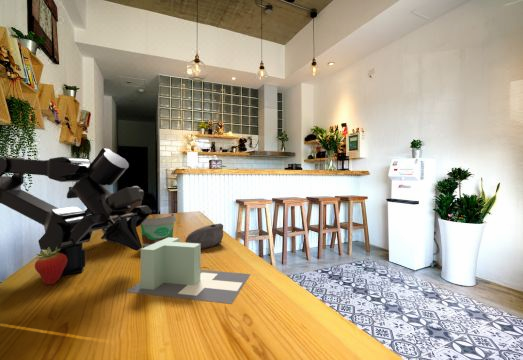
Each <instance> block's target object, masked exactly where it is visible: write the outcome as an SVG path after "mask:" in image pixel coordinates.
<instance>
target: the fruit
mask: <svg viewBox="0 0 523 360" xmlns="http://www.w3.org/2000/svg"><path fill="white" fill-rule="evenodd" d="M56 247H57V246H56ZM60 249H61V248H60ZM60 249H57V248H56V250H55V251H54V252H52V253H51V249H50V248H49V247H48V248H47V250H46V252H45V251H44V250H42V249H40V251H39V254H38V253H36V255H37V256H39V257H36V259H37V260H36V261H35V263H34V269H35V271H36V272H37V274H39V275H40V278H41V279H42V281H43V283H44V284H46V285H53V284H56V283H57V282H58V281H59V279H60V278H61V276H62V275H61V274H62V272H63V270H64V268H65V266H66V264H67V257H66V255H64V254H62V253H56V252H58V251H59V250H60Z"/></svg>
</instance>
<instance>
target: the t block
mask: <svg viewBox="0 0 523 360" xmlns="http://www.w3.org/2000/svg"><path fill="white" fill-rule="evenodd" d="M201 268H202V267H201V244H198V243H186V242H181V239H180V238H179V237H173V238H170V237H168V238H166V239H163V240H161V241H159V242H156V243H154V244H151V245H149V246H147V247H144V248H143V247H142V248H141V249H140V282H141V288H142V289H152V290H154V289H156V288H157V287H158V286H160V285H161V284H163V283H174V284H184V285H195V284H196V283H198V282H199V281H200V272H201V270H202V269H201Z"/></svg>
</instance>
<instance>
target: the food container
mask: <svg viewBox="0 0 523 360" xmlns="http://www.w3.org/2000/svg"><path fill="white" fill-rule="evenodd" d="M176 221H177V218H176V216H175V213H171V215H168V216H154V217H147V218H146V219H145V220H144V221H143V222H142V224H141V225H140V231H141V241H142V248H144V247H147V246H149V245H151V244H154V243H156V242H159V241H161V240H163V239H166V238H168V237H170V238H174V237H173V236H174V227H175V226H174V225H175V222H176Z"/></svg>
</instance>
